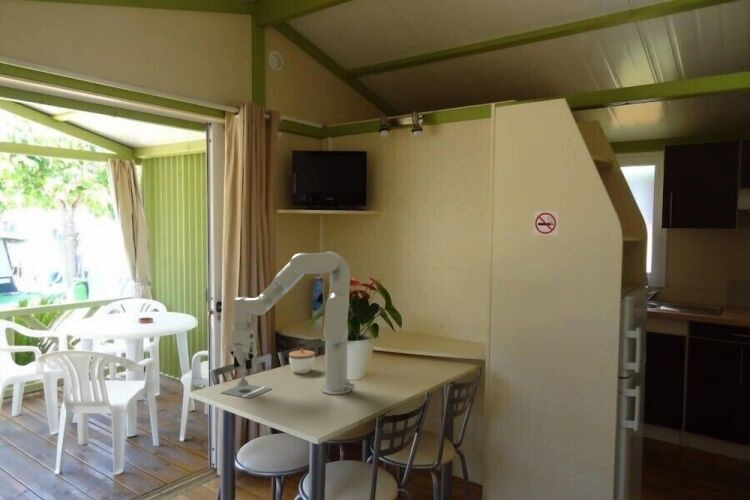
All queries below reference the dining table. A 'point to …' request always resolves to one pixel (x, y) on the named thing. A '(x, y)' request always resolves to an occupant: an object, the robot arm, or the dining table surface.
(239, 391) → the mat
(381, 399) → the dining table surface
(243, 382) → the chalice
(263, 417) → the dining table surface
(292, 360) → the lidded bowl
